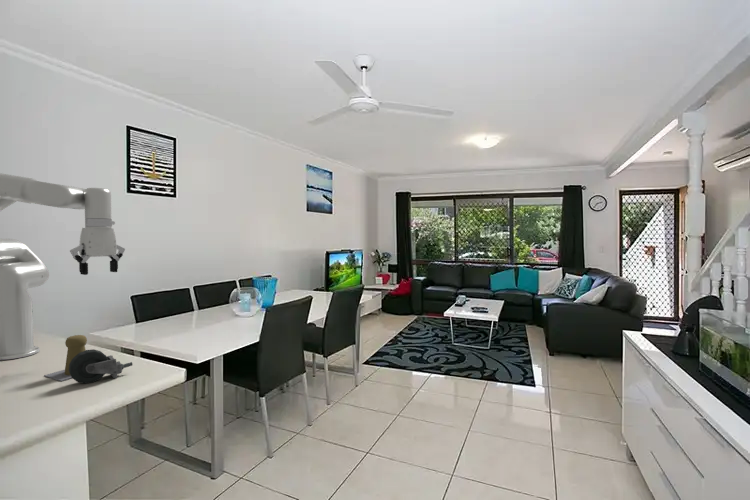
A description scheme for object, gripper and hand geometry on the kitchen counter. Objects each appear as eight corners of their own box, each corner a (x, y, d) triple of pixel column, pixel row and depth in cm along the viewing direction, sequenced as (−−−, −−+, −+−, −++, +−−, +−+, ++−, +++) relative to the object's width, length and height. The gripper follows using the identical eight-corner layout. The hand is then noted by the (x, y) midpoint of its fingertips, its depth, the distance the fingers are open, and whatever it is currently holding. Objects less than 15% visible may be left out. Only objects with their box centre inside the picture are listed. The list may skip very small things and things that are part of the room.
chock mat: (44, 376, 115) (44, 375, 115) (85, 364, 125) (84, 364, 125) (61, 381, 111) (61, 380, 111) (102, 369, 121) (102, 368, 121)
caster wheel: (73, 392, 107) (135, 373, 117) (68, 358, 105) (131, 342, 116) (70, 386, 111) (130, 368, 121) (65, 353, 109) (126, 338, 120)
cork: (76, 375, 115) (75, 339, 114) (58, 374, 116) (57, 337, 115) (94, 368, 121) (93, 333, 120) (77, 367, 122) (76, 332, 121)
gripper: (117, 224, 144) (117, 270, 145) (63, 223, 128) (64, 274, 129) (130, 224, 141) (130, 271, 142) (77, 223, 125) (78, 276, 126)
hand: (99, 273), depth 136 cm, fingers open, 9 cm apart
